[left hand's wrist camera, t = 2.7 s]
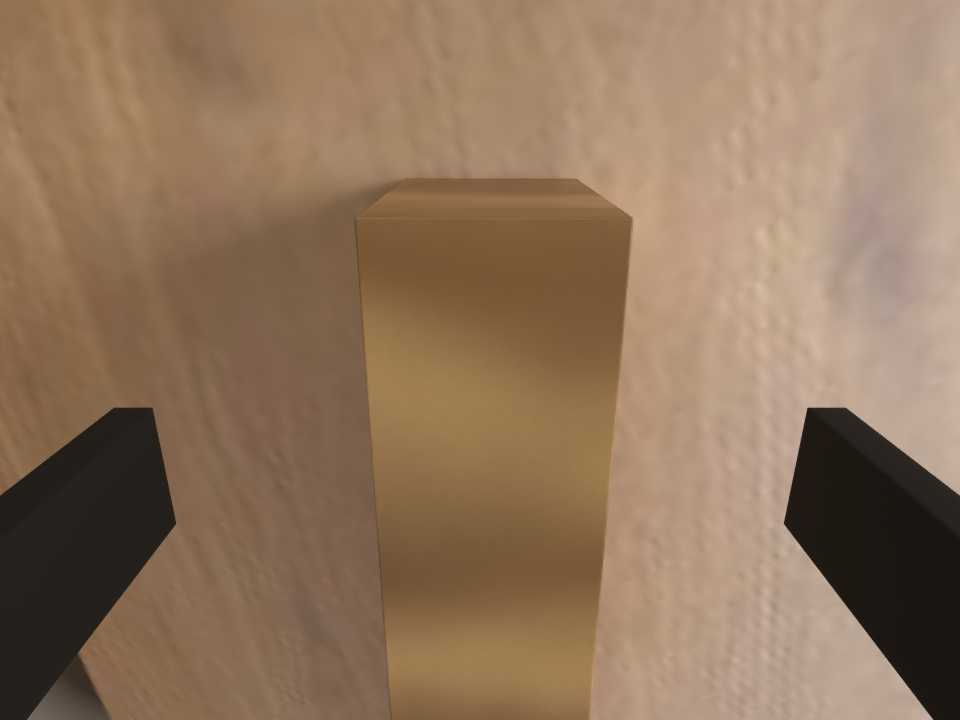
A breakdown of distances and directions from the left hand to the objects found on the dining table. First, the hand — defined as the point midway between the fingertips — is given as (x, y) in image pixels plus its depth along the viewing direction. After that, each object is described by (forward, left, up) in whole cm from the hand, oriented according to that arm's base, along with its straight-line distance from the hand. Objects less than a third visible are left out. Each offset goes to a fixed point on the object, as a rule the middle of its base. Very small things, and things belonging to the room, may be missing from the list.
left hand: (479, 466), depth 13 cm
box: (+9, 0, -11) cm, 14 cm away
